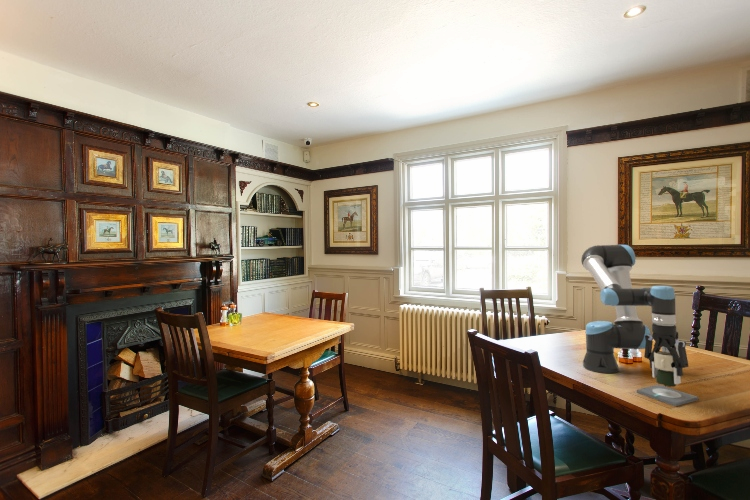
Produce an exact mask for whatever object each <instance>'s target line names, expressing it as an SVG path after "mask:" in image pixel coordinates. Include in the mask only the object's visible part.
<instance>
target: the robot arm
mask: <svg viewBox="0 0 750 500" xmlns="http://www.w3.org/2000/svg"><path fill="white" fill-rule="evenodd" d="M635 264H636V254H635V251H634V249H633V248H632V247H631V246H630V245H628V244H606V245H605V244H603V245H602V244H601V245H598V244H597V245H593V246H590V247H588V248H587V249H586V250H585V251H584V252H583V253H582V255H581V265H582V266H583V268H584V270H586V271H588V272H589V273H590V274H591V276H592V277H593V280H594V281H595V282H596V284H597V285H598V287H599V289H600V294H599V298H600V300H601V303H602V304H603V305H605V306H612V307H614V308H615V314H616V319H615V320H614V321H613V322H614V324H613V322H611V321H608V320H595V321H590V322H588V323H586V325H585V343H586V344H585V345H586V350H585V351H586V352H585V355H584V357H583V361H582V367H583V366H584V367H585V368H584V367H583V368H584V369H586V368H587V369H586V370H588V369H589V371H591V370H592V372H595V371H596V372H595V373H602V374H615V373H618V372H619V371H620V370H619V369H620V368H619V364H618V362H617V359H616V356H615V353H614V352H615V350H614V349H623V350H626V349H627V350H644V356H643V357H644V358H645V359H646V360H648V361H649V368H650V369H651V371H652V373H651V374H652V378H654V379H655V378H657V371H658V370H659V369H657V368H655V366H654V352H655V353H658V352H659V351H661V350H662V346H663V347H666V348H667V349H668V350H669V352H670V354H671V356H672V357H673V361H674V364H675V366H676V367H674V384H676V385H679V384H682V383H681V381H682V379H681V378H682V377H683V374H684V372H683V368H684V369H685V368H689V360H688V356H687V351H686V347H687V342H686V341H681V340H679V339H678V340H677V338H676V332H677V326H676V324H677V318H676V314H677V313H676V294H675V293H676V292H675V289H674V287H673V286H667V285H652V286H651V287H640V288H633V285H632V280H631V274H630V271H631V270H632V269H633V267H634V266H635ZM637 306H639V307H651V308H650V309H651V322H652V324H651V325H652V326H651V329H652V333H653V334H651V330H650V328H649V326H648V325H645V324H644V323H643V320H642V319H640V318H639V316H638V312H637ZM653 342H654V344H653ZM675 343H677V346H678V352H679V355H678V353H677V351H676V347H675ZM671 347H672V348H671Z"/></svg>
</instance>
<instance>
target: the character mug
mask: <svg viewBox="0 0 750 500" xmlns="http://www.w3.org/2000/svg"><path fill="white" fill-rule="evenodd" d="M654 366H655V368H657V369H658V371H657V377H656V381H655V382H656V384H659V385H662V386H665V387H669V388H670V387H672V388H673V387H677V384H674V372H673V371H674V367H676V366H675V364H674V361H673V357H672V356H671V354H670V352H666V351H662V350H660V351H659V352H658V353H655V352H654Z"/></svg>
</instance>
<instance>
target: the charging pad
mask: <svg viewBox="0 0 750 500" xmlns="http://www.w3.org/2000/svg"><path fill="white" fill-rule="evenodd" d="M636 394H641V395H642V396H645V397H649V398H651V399H654V400H656V401H660V402H661V403H665V404H667V405H670V406H673V407H678V406H682V405H686V404H690V403H692V402H696V401H699V396H696V395H693V394H690V393H687V392H684V391H680V390H677V389H674V388H673V387H672V388H670V387H669V386H665V385H662V384H659V383H657V384H656V385H655V384H654V385H651V386H647V387H646V386H645V387H642V388H638V389H636Z"/></svg>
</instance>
